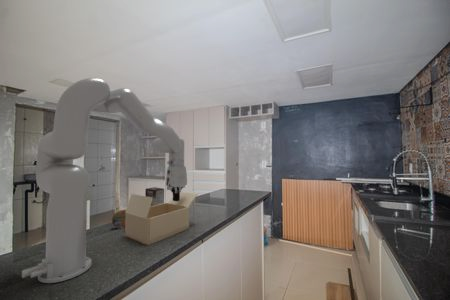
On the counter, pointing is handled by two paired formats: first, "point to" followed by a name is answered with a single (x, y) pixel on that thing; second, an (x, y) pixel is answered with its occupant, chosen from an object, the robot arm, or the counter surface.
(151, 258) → the counter surface
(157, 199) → the coffee box
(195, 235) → the counter surface
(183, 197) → the far flap
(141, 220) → the carton
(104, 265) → the counter surface
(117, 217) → the tin
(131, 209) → the near flap
